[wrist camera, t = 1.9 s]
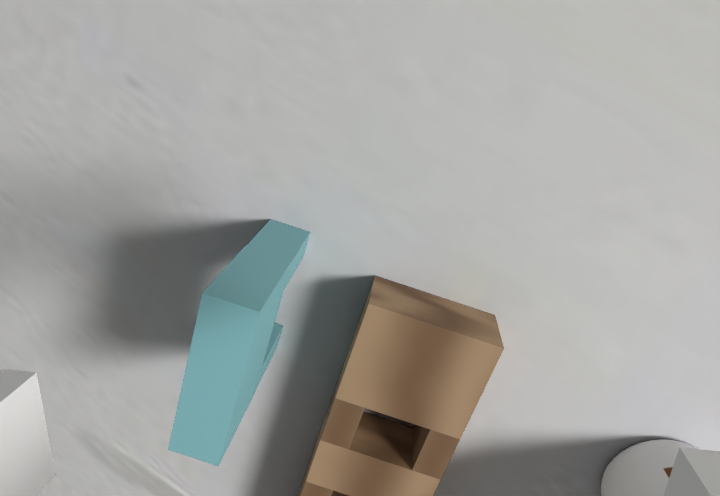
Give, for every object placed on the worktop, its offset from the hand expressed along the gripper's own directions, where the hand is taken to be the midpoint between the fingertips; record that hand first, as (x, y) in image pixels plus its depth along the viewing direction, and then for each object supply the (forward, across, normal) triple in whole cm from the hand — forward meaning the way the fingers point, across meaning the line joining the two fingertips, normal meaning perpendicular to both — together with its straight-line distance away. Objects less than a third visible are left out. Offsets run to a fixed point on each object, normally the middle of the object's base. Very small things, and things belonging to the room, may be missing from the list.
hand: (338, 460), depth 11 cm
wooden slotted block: (+22, 0, -18) cm, 29 cm away
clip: (+22, -7, -7) cm, 24 cm away
